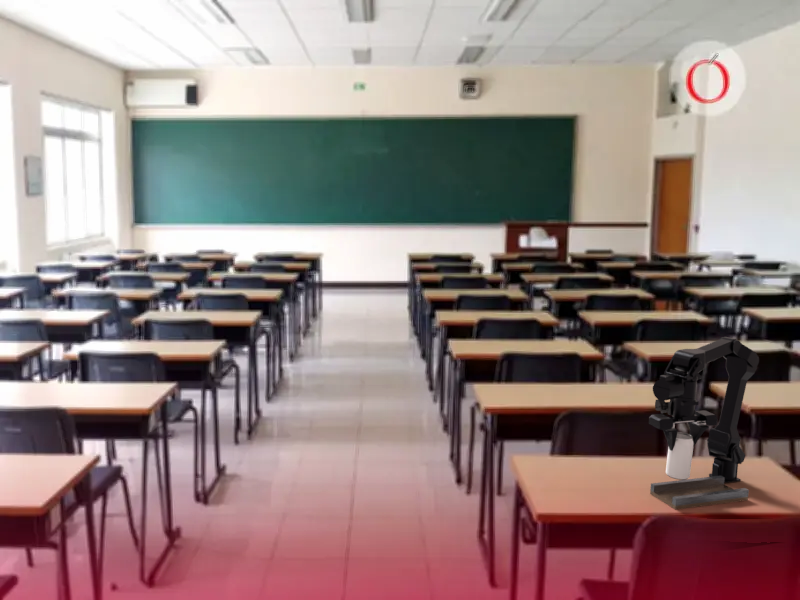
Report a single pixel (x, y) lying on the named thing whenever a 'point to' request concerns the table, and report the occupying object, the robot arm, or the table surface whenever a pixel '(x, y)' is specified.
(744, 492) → the track
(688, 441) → the can
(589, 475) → the table surface
